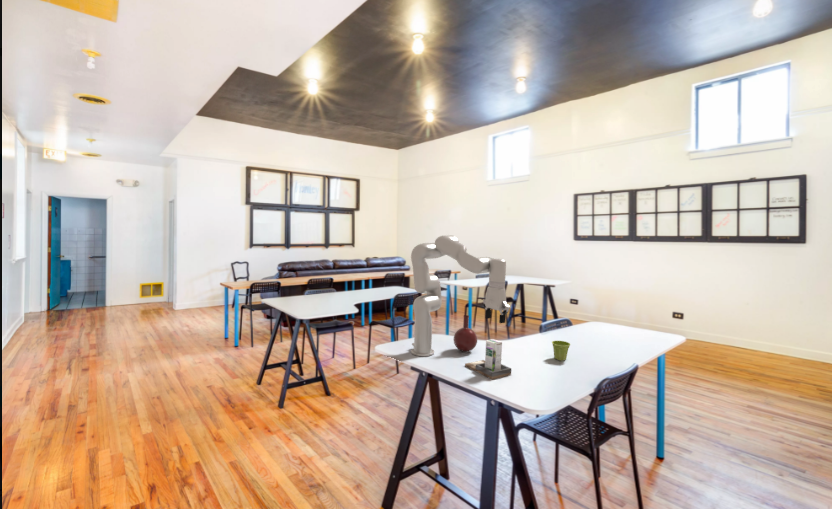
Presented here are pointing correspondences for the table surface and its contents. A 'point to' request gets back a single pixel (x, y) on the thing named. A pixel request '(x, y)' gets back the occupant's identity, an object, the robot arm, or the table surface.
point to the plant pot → (560, 349)
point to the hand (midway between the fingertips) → (495, 320)
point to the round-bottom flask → (465, 337)
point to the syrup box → (493, 355)
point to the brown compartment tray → (480, 368)
